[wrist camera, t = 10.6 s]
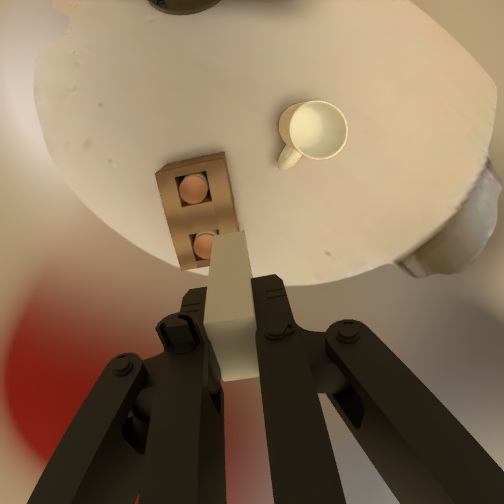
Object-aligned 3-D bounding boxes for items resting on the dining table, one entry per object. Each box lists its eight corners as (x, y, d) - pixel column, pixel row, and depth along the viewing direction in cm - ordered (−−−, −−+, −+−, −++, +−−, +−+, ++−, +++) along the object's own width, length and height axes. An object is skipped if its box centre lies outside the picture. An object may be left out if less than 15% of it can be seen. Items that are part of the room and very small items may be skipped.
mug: (293, 177, 50) (307, 192, 40) (254, 148, 47) (259, 157, 38) (335, 123, 46) (359, 127, 37) (297, 93, 43) (313, 88, 34)
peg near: (184, 170, 47) (176, 179, 40) (208, 165, 47) (204, 173, 40) (189, 192, 49) (182, 206, 42) (212, 188, 49) (209, 200, 42)
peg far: (195, 220, 51) (190, 237, 44) (218, 216, 51) (216, 232, 44) (201, 241, 53) (196, 260, 46) (223, 237, 53) (222, 256, 46)
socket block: (166, 164, 47) (154, 173, 40) (224, 152, 47) (223, 158, 40) (187, 249, 54) (181, 270, 47) (241, 239, 54) (242, 260, 47)
